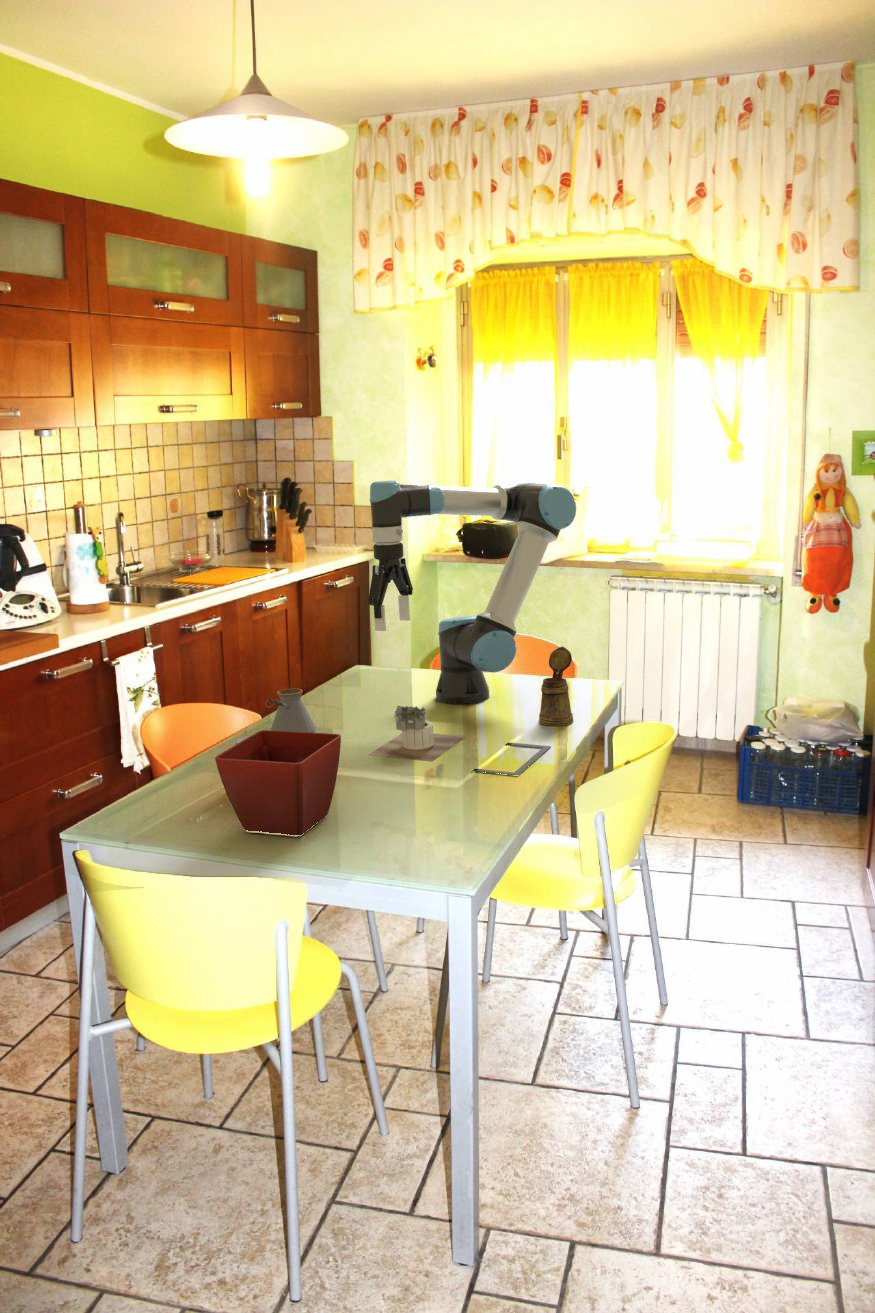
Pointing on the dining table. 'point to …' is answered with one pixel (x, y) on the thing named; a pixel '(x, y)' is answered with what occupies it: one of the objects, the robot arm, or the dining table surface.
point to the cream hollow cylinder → (418, 738)
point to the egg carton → (409, 718)
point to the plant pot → (281, 779)
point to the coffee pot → (291, 712)
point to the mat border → (525, 765)
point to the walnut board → (397, 750)
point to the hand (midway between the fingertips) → (393, 625)
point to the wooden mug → (556, 691)
